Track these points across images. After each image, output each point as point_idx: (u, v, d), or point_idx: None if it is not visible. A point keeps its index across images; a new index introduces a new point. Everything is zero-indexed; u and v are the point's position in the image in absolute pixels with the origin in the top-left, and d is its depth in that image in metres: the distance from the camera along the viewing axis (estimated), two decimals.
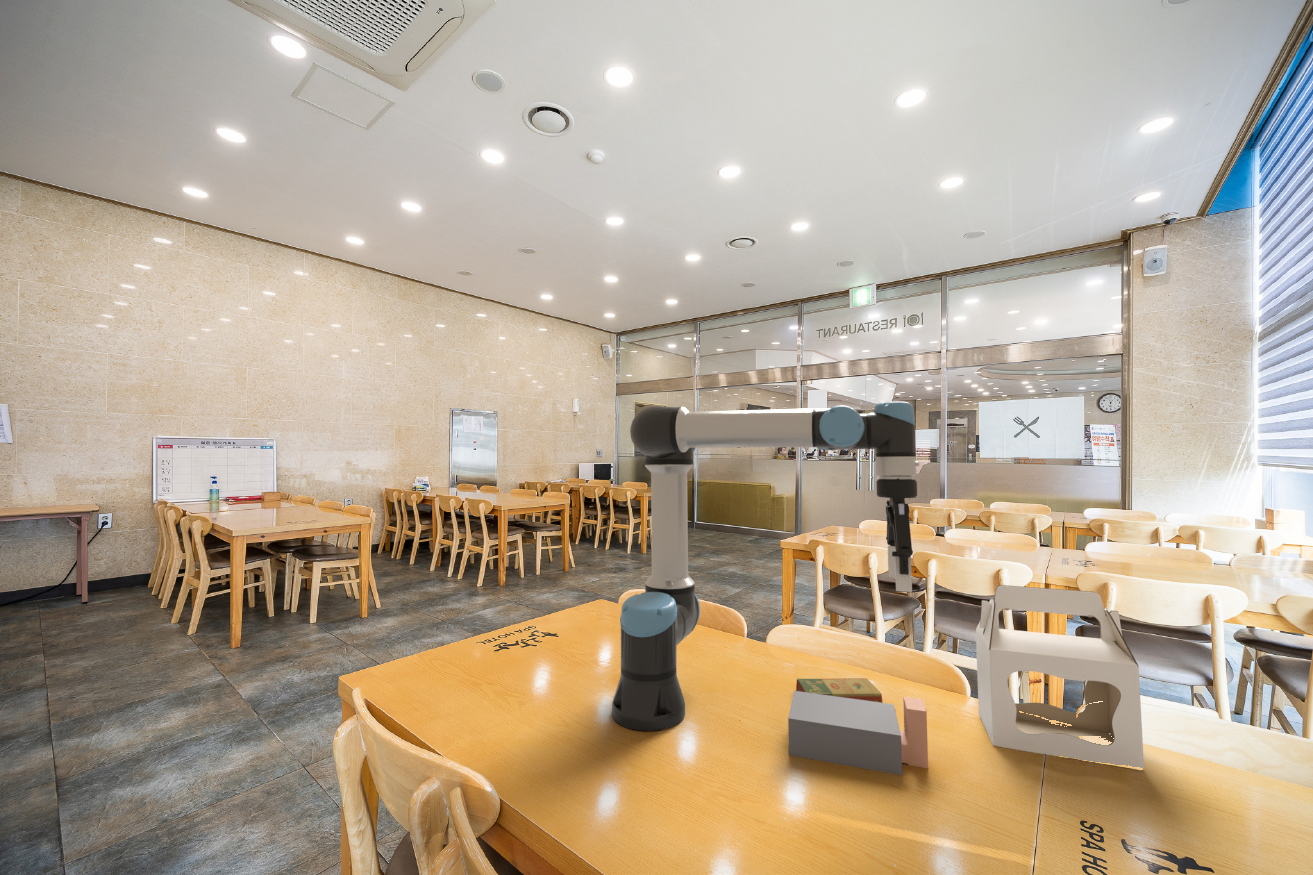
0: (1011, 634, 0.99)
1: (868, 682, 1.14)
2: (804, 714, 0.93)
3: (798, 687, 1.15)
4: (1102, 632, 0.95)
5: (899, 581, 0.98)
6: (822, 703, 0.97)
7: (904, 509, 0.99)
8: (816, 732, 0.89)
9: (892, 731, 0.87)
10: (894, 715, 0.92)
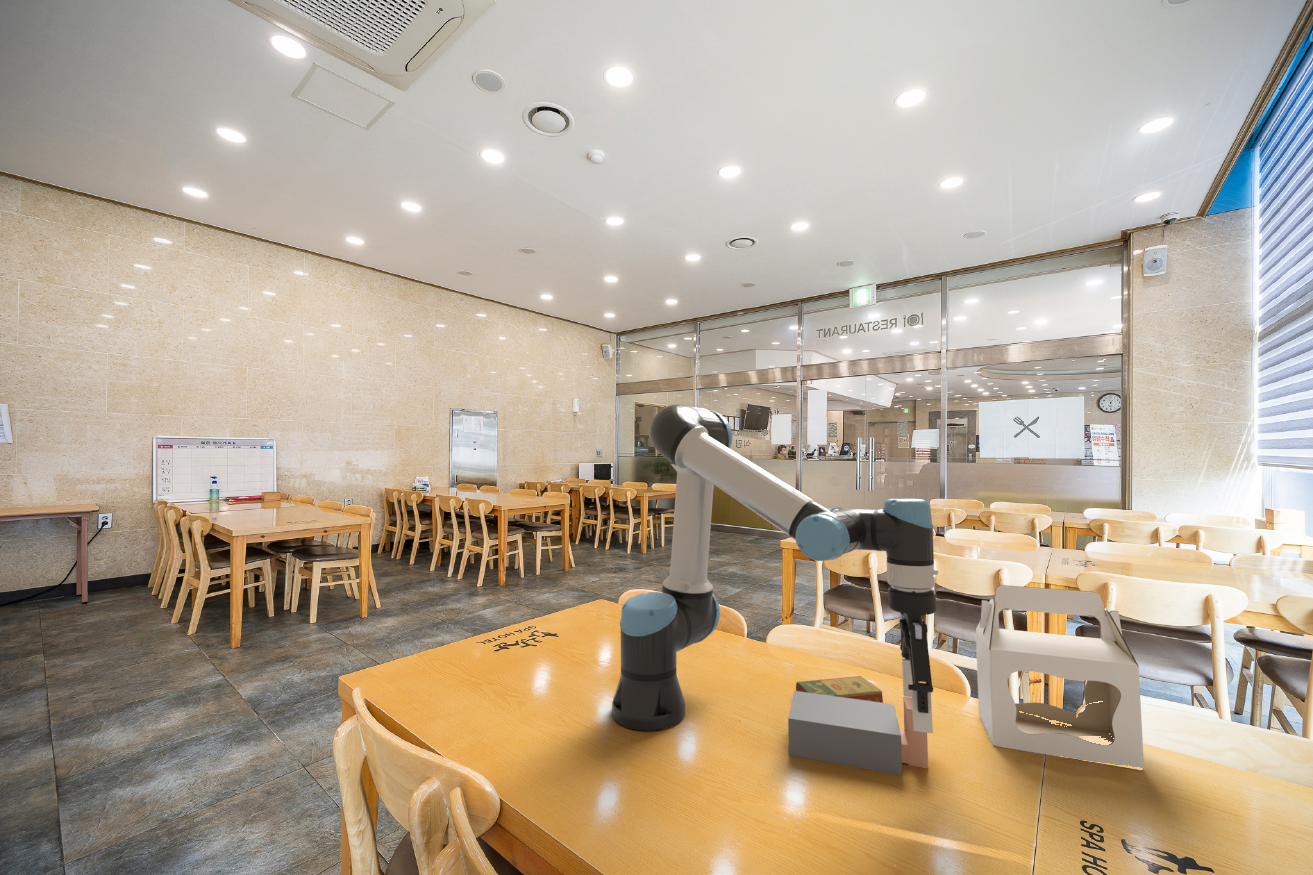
0: (1011, 634, 0.99)
1: (864, 680, 1.15)
2: (804, 714, 0.93)
3: (799, 690, 1.13)
4: (1102, 632, 0.95)
5: (917, 718, 0.83)
6: (822, 703, 0.97)
7: (922, 633, 0.84)
8: (816, 732, 0.89)
9: (892, 731, 0.87)
10: (894, 715, 0.92)
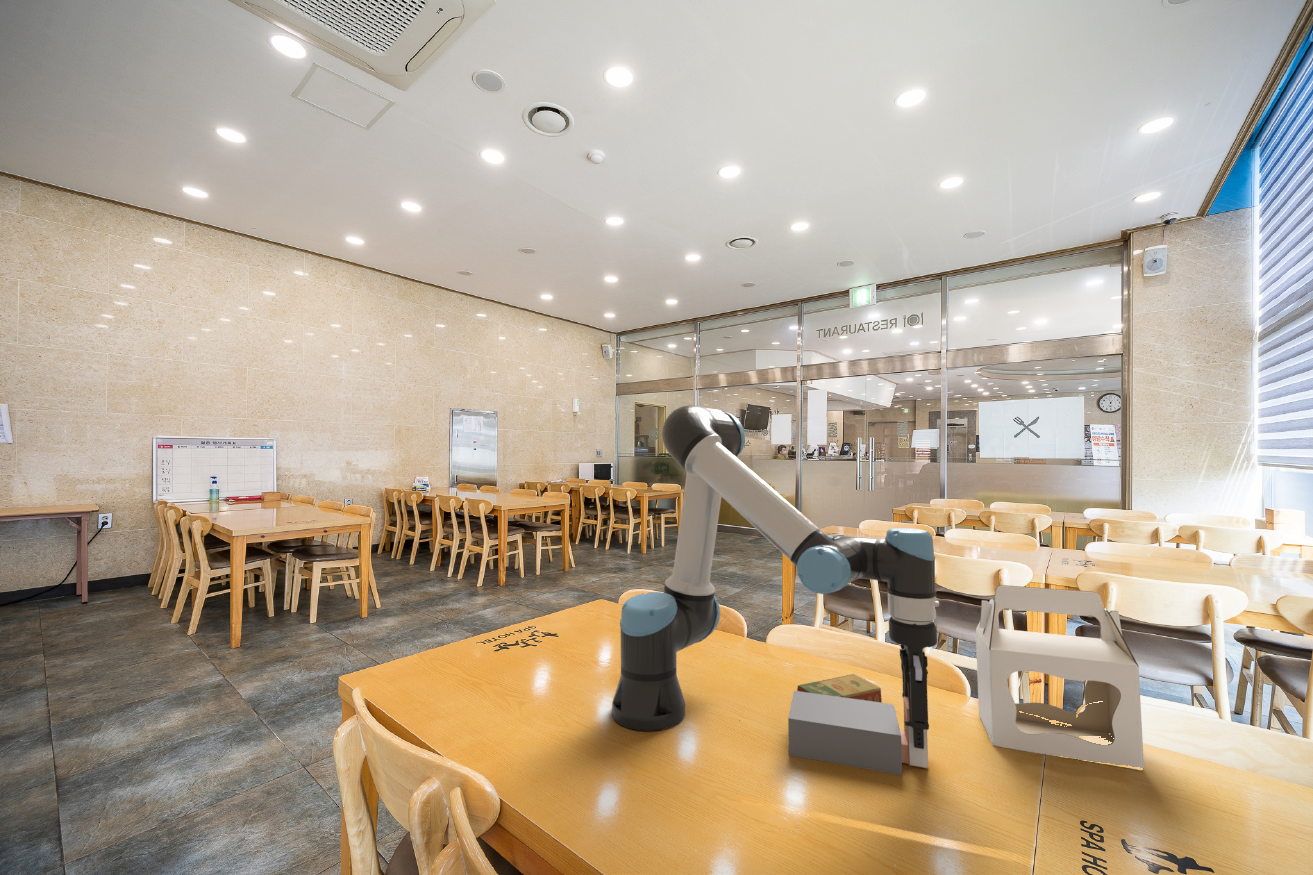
0: (1011, 634, 0.99)
1: (859, 678, 1.17)
2: (804, 714, 0.93)
3: None
4: (1102, 632, 0.95)
5: (913, 753, 0.87)
6: (822, 703, 0.97)
7: (922, 677, 0.84)
8: (816, 732, 0.89)
9: (892, 731, 0.87)
10: (894, 715, 0.92)
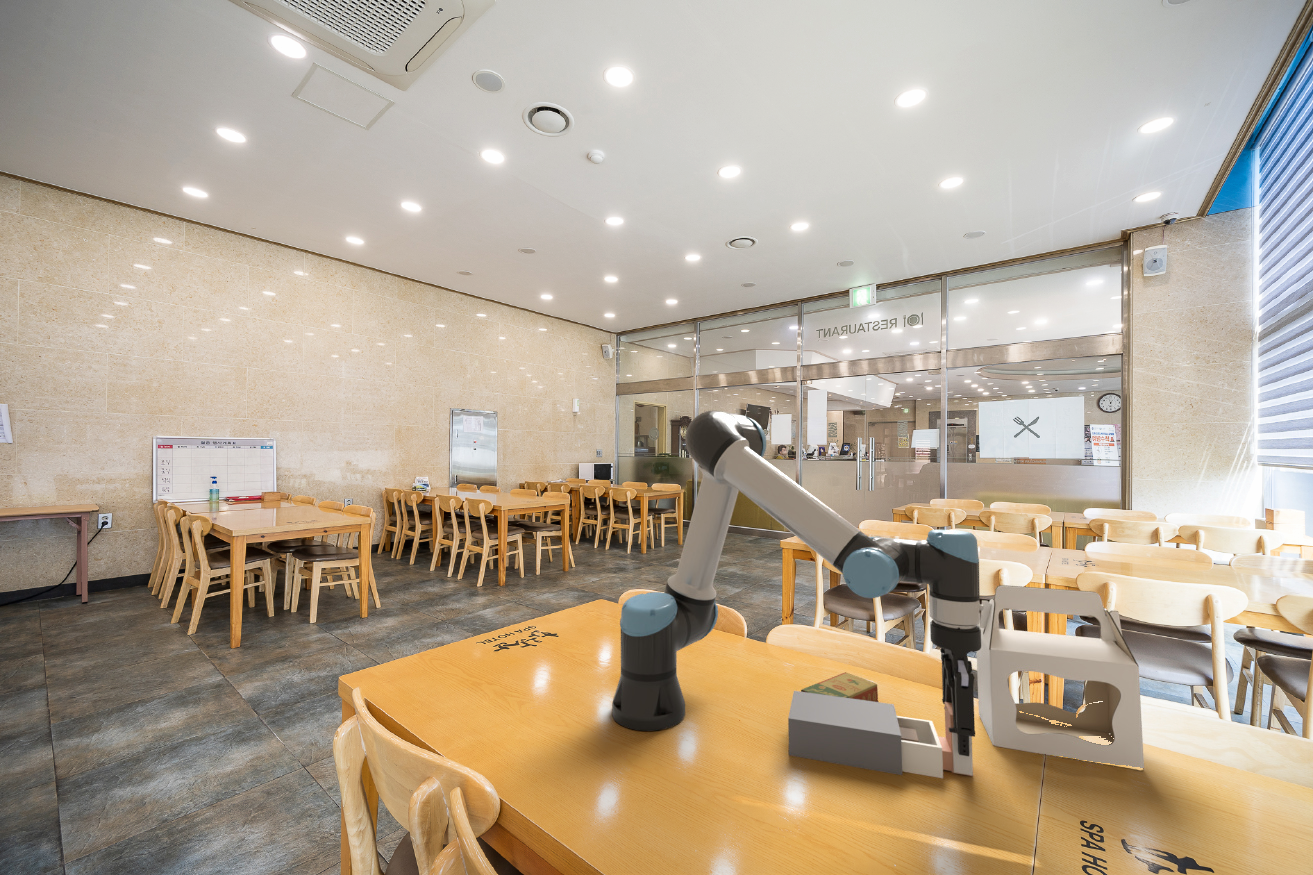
0: (1011, 634, 0.99)
1: (853, 675, 1.18)
2: (804, 714, 0.93)
3: None
4: (1102, 632, 0.95)
5: (957, 760, 0.85)
6: (822, 703, 0.97)
7: (968, 682, 0.82)
8: (816, 732, 0.89)
9: (892, 731, 0.87)
10: (894, 715, 0.92)
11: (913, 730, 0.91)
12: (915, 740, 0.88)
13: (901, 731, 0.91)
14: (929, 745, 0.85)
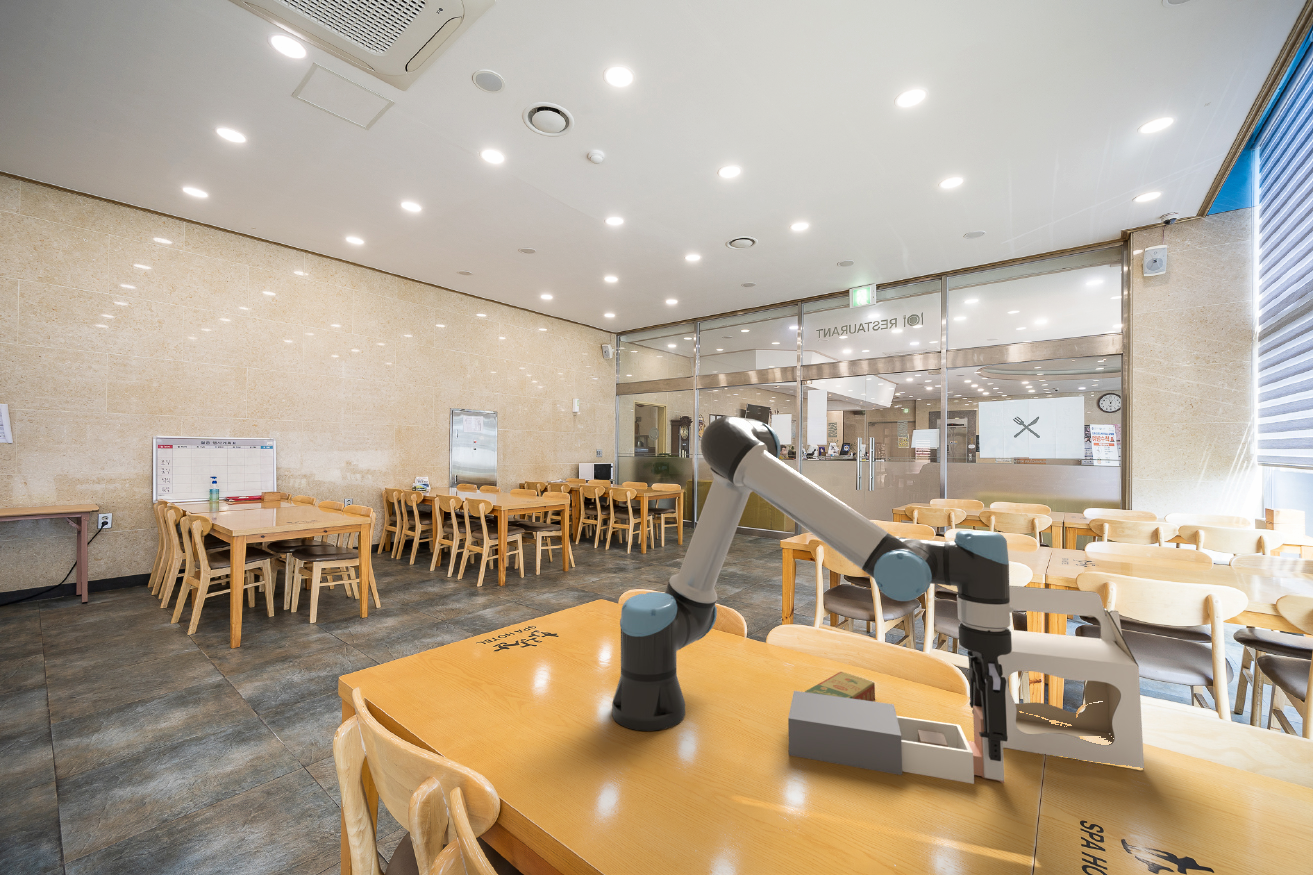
0: (1011, 634, 0.99)
1: (849, 674, 1.18)
2: (804, 714, 0.93)
3: None
4: (1102, 632, 0.95)
5: (988, 765, 0.83)
6: (822, 703, 0.97)
7: (1000, 686, 0.81)
8: (816, 732, 0.89)
9: (892, 731, 0.87)
10: (894, 715, 0.92)
11: (941, 734, 0.90)
12: (944, 745, 0.87)
13: (929, 735, 0.89)
14: (959, 750, 0.84)
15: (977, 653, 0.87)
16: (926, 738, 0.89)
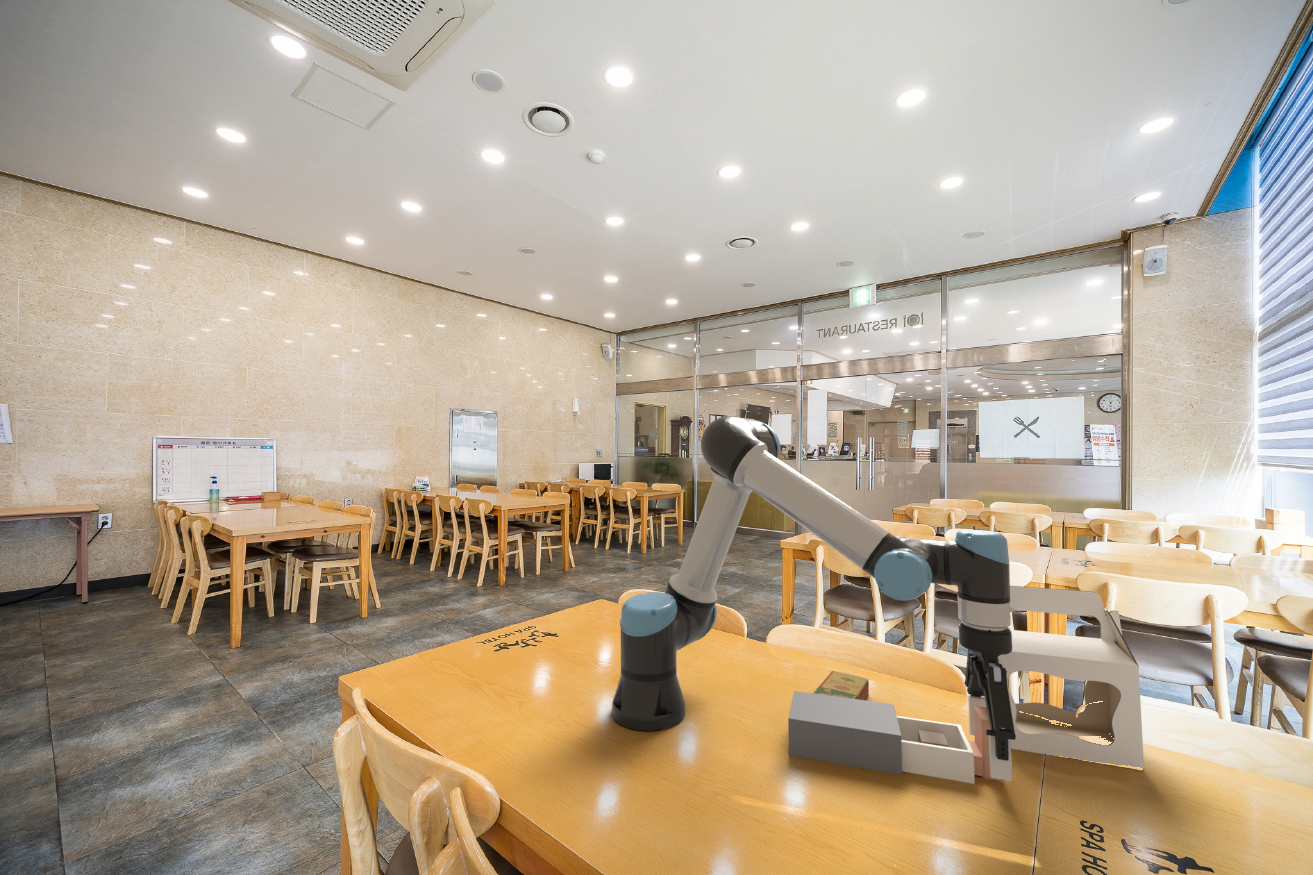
0: None
1: (842, 673, 1.19)
2: (804, 714, 0.93)
3: None
4: (1102, 632, 0.95)
5: (995, 765, 0.80)
6: (822, 703, 0.97)
7: (1001, 676, 0.80)
8: (816, 732, 0.89)
9: (892, 731, 0.87)
10: (894, 715, 0.92)
11: (941, 734, 0.90)
12: (945, 745, 0.87)
13: (929, 735, 0.89)
14: (960, 750, 0.84)
15: (977, 653, 0.87)
16: (927, 738, 0.89)
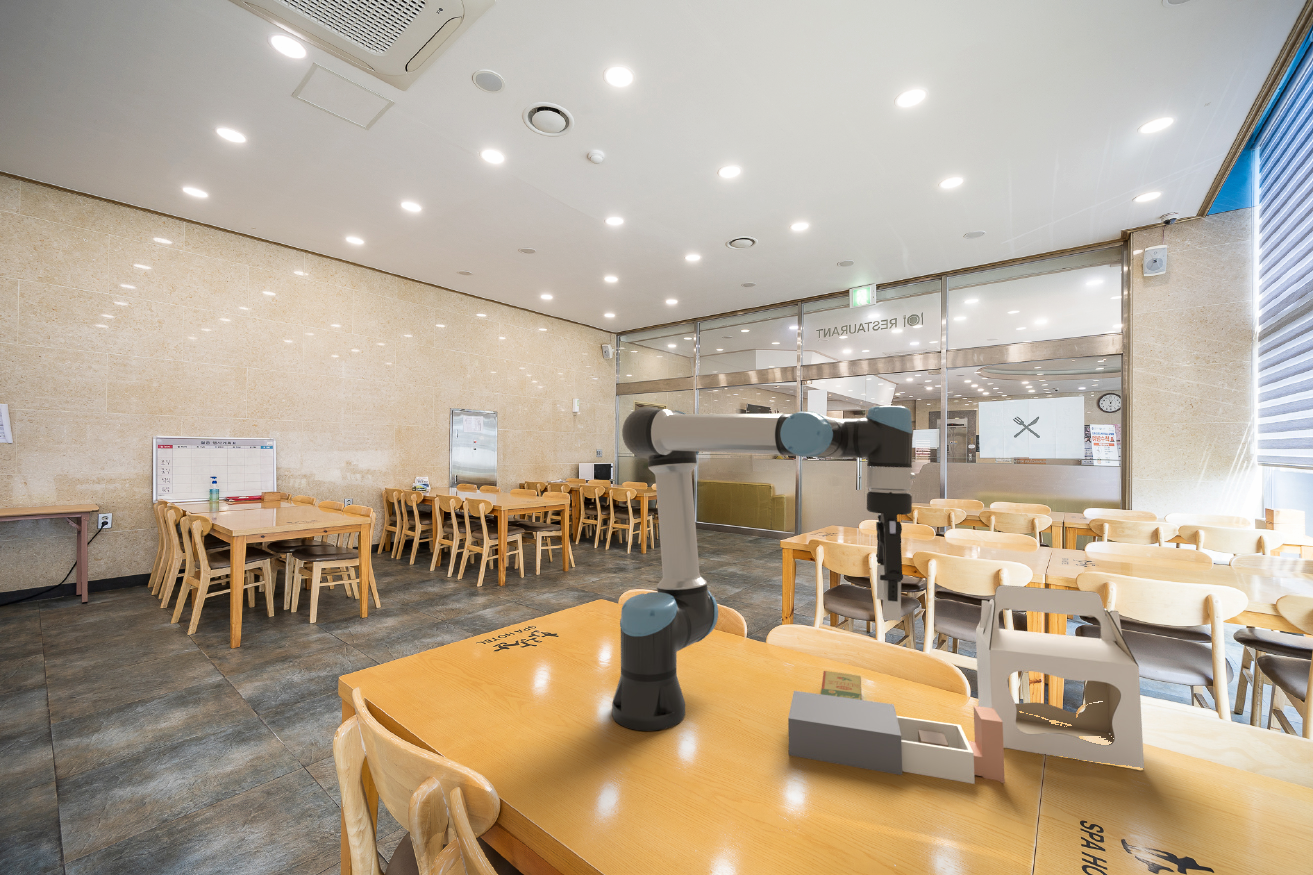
0: (1011, 634, 0.99)
1: (834, 672, 1.20)
2: (804, 714, 0.93)
3: None
4: (1102, 632, 0.95)
5: (886, 607, 0.88)
6: (822, 703, 0.97)
7: (896, 528, 0.88)
8: (816, 732, 0.89)
9: (892, 731, 0.87)
10: (894, 715, 0.92)
11: (941, 734, 0.90)
12: (945, 745, 0.87)
13: (929, 735, 0.89)
14: (960, 750, 0.84)
15: (882, 517, 0.95)
16: (927, 738, 0.89)
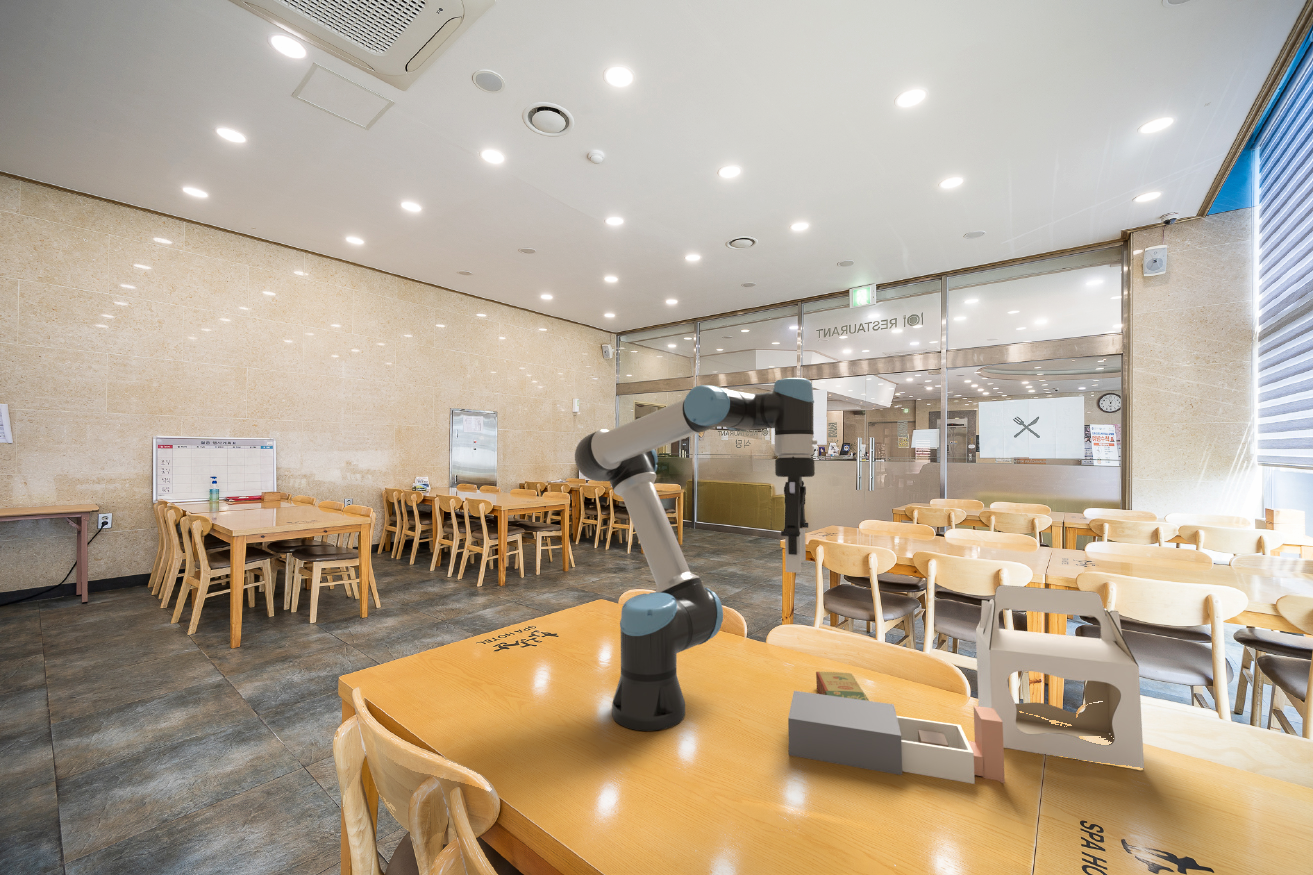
0: (1011, 634, 0.99)
1: (827, 672, 1.20)
2: (804, 714, 0.93)
3: None
4: (1102, 632, 0.95)
5: (788, 561, 0.95)
6: (822, 703, 0.97)
7: (795, 488, 0.96)
8: (816, 732, 0.89)
9: (892, 731, 0.87)
10: (894, 715, 0.92)
11: (941, 734, 0.90)
12: (945, 745, 0.87)
13: (929, 735, 0.89)
14: (960, 750, 0.84)
15: None
16: (927, 738, 0.89)
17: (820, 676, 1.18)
